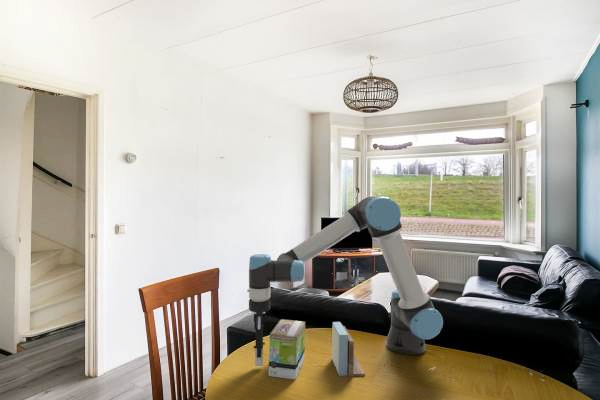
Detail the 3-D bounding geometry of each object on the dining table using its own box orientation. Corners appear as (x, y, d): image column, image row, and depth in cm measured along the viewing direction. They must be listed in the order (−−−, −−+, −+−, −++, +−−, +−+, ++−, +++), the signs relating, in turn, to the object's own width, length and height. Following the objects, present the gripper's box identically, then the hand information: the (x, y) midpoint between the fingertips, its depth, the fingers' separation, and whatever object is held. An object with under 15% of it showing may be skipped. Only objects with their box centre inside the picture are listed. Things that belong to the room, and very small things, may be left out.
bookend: (354, 356, 130) (354, 325, 130) (364, 375, 116) (365, 340, 116) (340, 357, 130) (340, 325, 130) (349, 376, 116) (349, 341, 116)
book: (339, 358, 129) (340, 321, 129) (347, 375, 117) (347, 334, 117) (331, 359, 129) (332, 322, 128) (338, 375, 117) (338, 334, 116)
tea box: (296, 380, 113) (297, 336, 113) (267, 377, 115) (268, 333, 115) (305, 359, 128) (305, 320, 128) (279, 356, 130) (279, 318, 130)
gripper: (249, 293, 127) (249, 356, 127) (247, 304, 114) (247, 374, 114) (270, 293, 128) (269, 356, 128) (270, 304, 115) (269, 373, 115)
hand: (259, 364), depth 121 cm, fingers closed
